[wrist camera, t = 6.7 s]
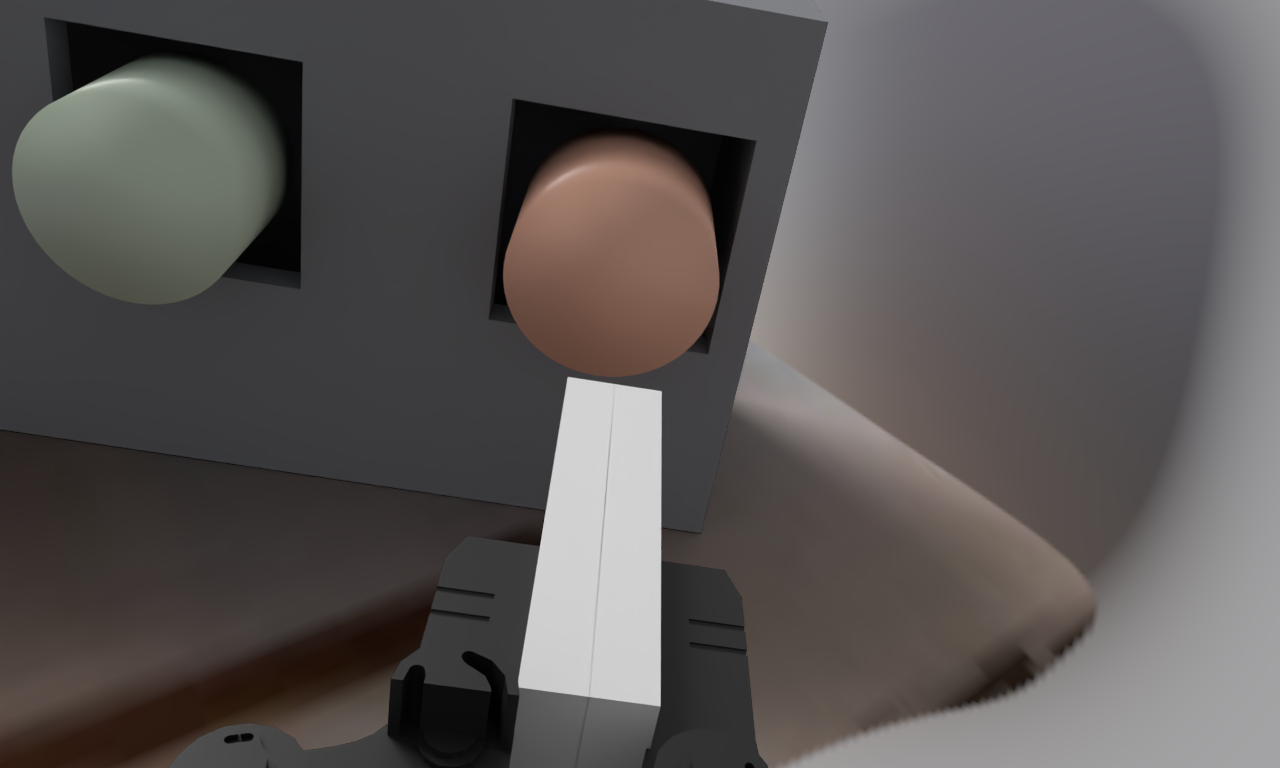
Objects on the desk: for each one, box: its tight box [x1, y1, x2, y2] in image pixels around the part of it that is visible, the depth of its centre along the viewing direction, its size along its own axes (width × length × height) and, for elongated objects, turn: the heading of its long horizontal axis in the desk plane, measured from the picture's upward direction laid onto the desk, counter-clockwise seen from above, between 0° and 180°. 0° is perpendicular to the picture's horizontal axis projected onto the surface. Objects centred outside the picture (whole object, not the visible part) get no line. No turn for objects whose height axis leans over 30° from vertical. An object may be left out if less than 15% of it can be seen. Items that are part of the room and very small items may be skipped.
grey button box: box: [0, 0, 828, 533], centre depth 31 cm, size 9×30×15 cm, turn 89°
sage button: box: [12, 50, 294, 305], centre depth 25 cm, size 4×5×5 cm
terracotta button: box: [503, 127, 719, 377], centre depth 26 cm, size 4×5×5 cm
